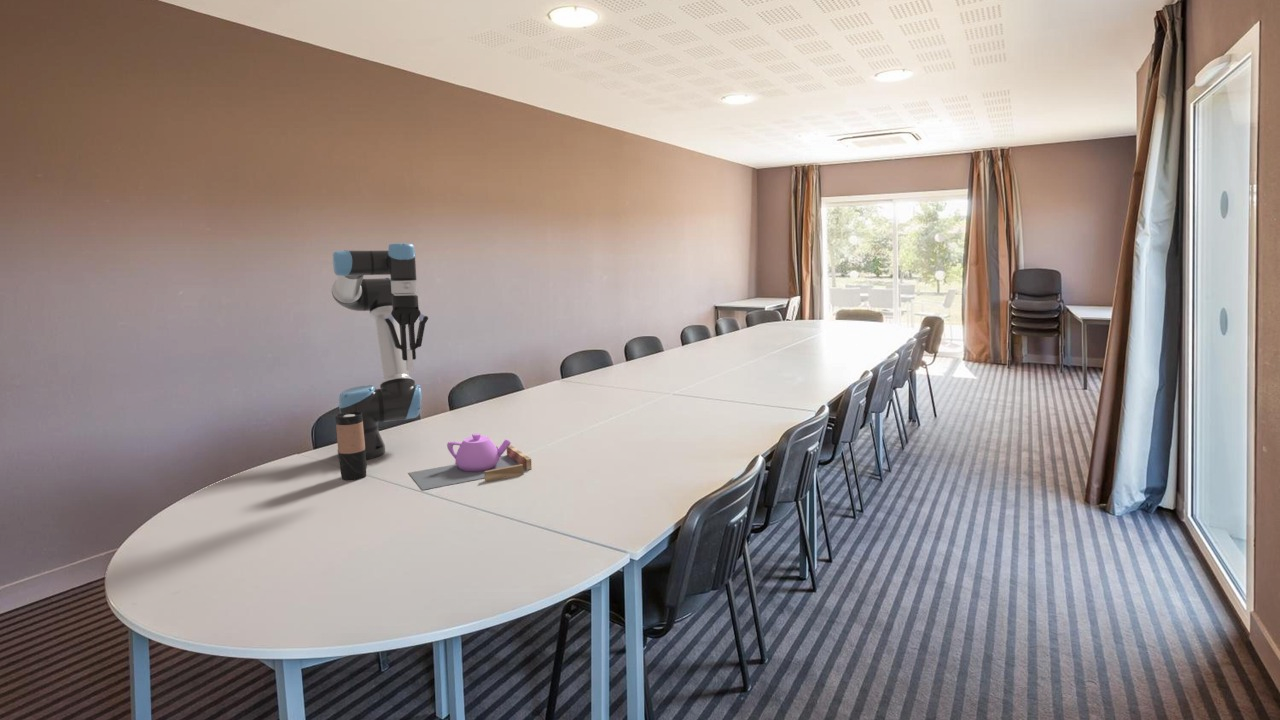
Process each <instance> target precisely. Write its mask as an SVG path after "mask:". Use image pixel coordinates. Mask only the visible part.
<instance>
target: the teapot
mask: <svg viewBox="0 0 1280 720" xmlns="http://www.w3.org/2000/svg"><path fill="white" fill-rule="evenodd" d="M511 444H512V443H511V441H510V440H508V439H504V441H503V442H502V443H501V445H500V446H499V447H498V450H497V448H496V446H497V445H495V443H494V442H493V441H492V440H491V438H490V437H488V436H486V435H481V433H472V434H471V436H470V437H469V436H468V437H467V438H464V439H463V440H462V442H459V441H448V442H447V444H446V447H447V450H448V452H449V453H450V454H451V455H452V457H453V458H454V460H455V464H456V465H457V466H458V467H459V468H460V469H461V470H463V471H469V472H477V471H485V470H489V469H491V468H493V467H495V466H496V464H497V463H498V461H499V457H500V456H503V454H504V453H505V451H507V448H508V447H509V445H511ZM454 446H459V447H458V449H457V452H455V450H454Z"/></svg>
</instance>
